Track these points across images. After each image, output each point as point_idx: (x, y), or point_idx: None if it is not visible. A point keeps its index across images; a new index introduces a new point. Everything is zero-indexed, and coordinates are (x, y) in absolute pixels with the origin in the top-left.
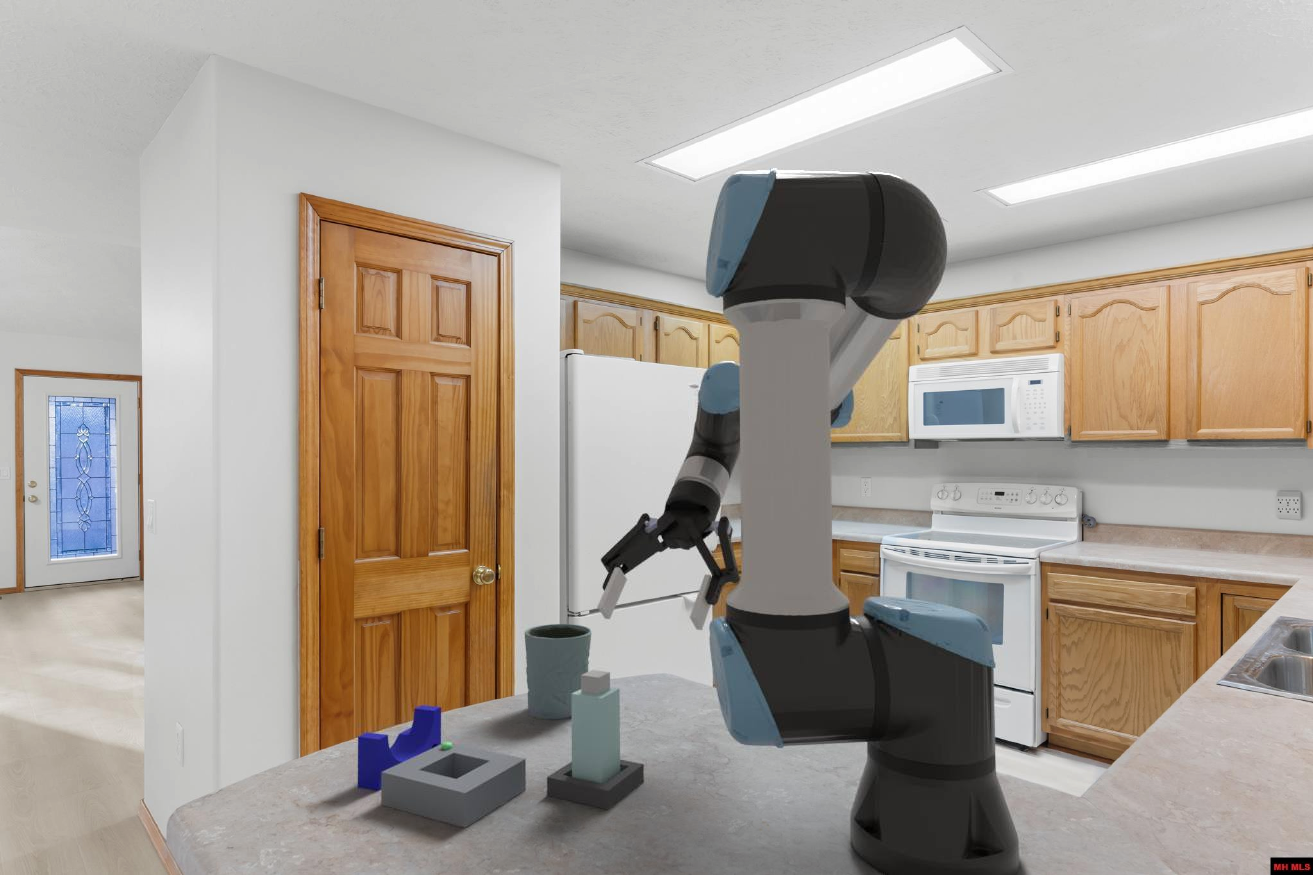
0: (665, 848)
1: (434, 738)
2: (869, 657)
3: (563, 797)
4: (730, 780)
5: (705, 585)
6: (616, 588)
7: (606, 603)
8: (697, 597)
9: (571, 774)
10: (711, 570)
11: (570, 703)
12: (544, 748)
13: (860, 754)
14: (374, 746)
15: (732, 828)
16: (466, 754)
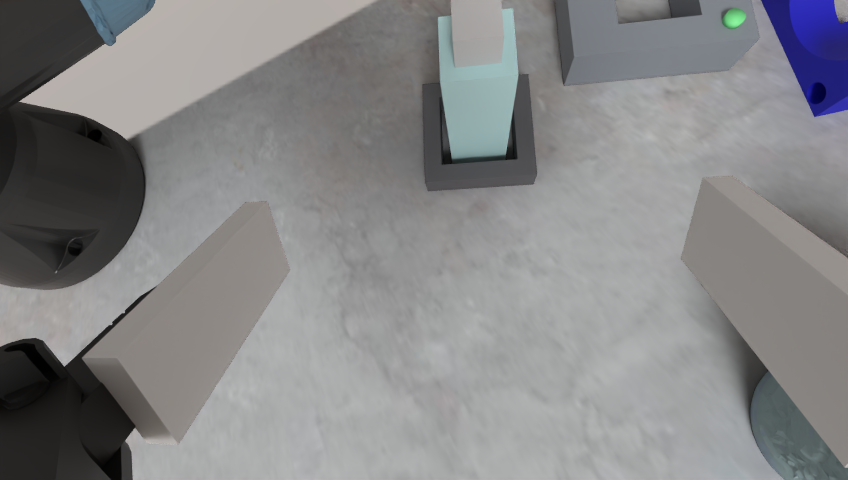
0: (320, 62)
1: (833, 81)
2: None
3: None
4: (316, 257)
5: (150, 301)
6: (778, 307)
7: (715, 212)
8: (215, 251)
9: (513, 115)
10: (37, 344)
11: (773, 397)
12: (661, 220)
13: (155, 459)
14: None
15: (269, 136)
16: (675, 21)
